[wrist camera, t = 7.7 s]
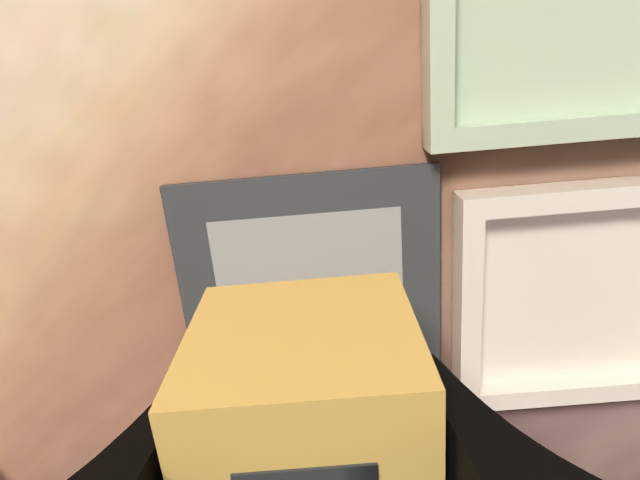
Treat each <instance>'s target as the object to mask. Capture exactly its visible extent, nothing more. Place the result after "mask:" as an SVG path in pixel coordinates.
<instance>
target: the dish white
mask: <svg viewBox="0 0 640 480" xmlns="http://www.w3.org/2000/svg"><path fill="white" fill-rule="evenodd" d="M451 372H452V373H453V374H454V375H455V376H456V377H457V378H458V379H459V380H460V381H461V382H462V383H463V384H464V385H465V386H466V387H467V388H468V389H470V390H471V391H472V392H473V393H474V394H475V395H476V396H477V397H478V398H480V399H481V400H482V401H483V402H484V403H485V404H486V405H487V406H489V407H490V408H491V409H492V410H493V411H501V410H514V409H527V408H540V407H553V406H566V405H579V404H592V403H604V402H617V401H630V400H640V175H638V176H626V177H614V178H602V179H590V180H578V181H566V182H553V183H541V184H529V185H517V186H505V187H493V188H481V189H469V190H457V191H453V257H452V367H451Z"/></svg>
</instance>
